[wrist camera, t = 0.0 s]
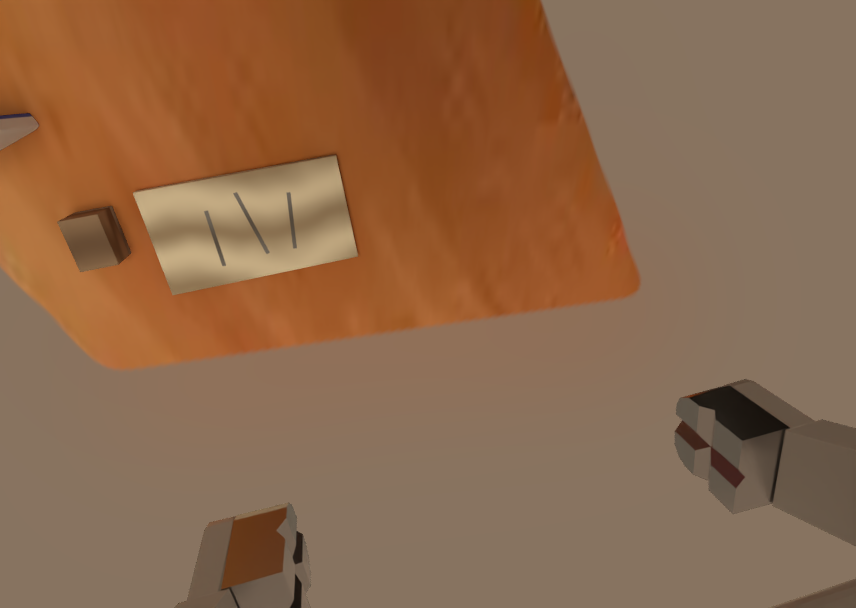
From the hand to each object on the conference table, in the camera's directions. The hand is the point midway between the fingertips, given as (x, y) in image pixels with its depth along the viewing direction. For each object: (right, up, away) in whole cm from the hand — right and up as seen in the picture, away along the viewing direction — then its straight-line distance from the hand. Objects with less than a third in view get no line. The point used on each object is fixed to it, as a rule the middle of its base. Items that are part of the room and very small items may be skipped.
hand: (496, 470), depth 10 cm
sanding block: (-34, +11, +41) cm, 55 cm away
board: (-20, +12, +44) cm, 50 cm away
